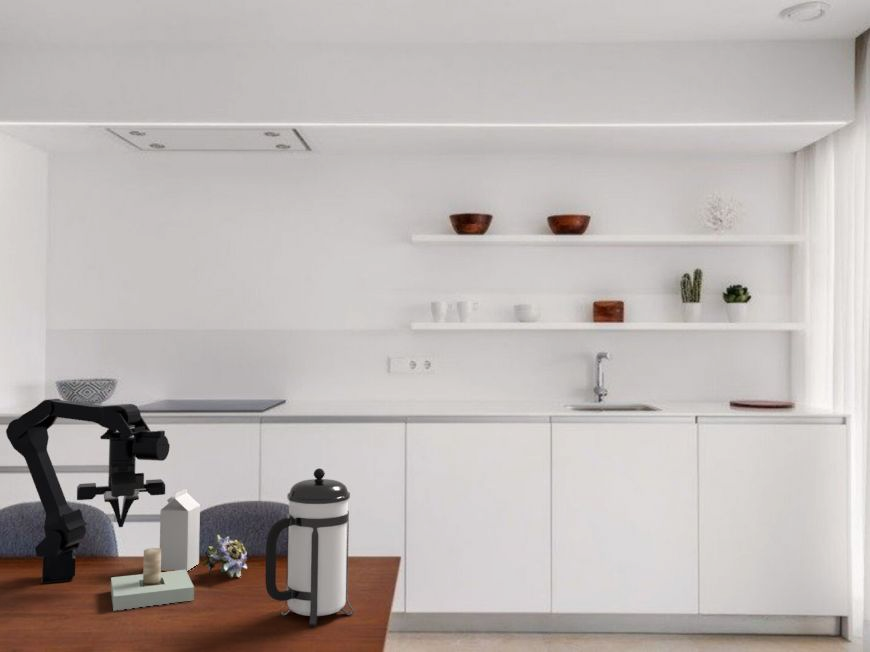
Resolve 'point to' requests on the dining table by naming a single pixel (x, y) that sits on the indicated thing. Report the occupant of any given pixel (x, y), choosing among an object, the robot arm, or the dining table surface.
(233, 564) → the passion flower
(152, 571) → the peg
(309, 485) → the coffee press
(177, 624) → the dining table surface
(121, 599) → the board
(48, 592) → the dining table surface
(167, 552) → the milk carton
